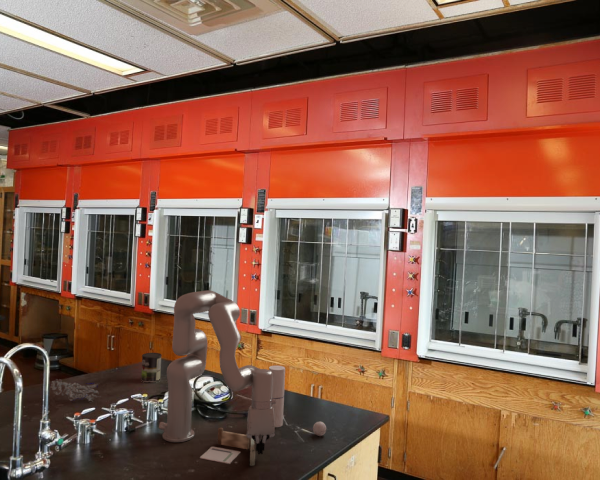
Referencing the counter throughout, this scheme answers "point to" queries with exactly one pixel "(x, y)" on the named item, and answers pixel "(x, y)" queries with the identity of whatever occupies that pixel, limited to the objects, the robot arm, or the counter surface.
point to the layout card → (220, 455)
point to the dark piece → (75, 390)
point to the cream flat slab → (252, 453)
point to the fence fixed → (233, 439)
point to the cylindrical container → (278, 393)
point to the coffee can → (151, 366)
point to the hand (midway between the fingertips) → (260, 452)
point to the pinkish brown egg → (319, 428)
